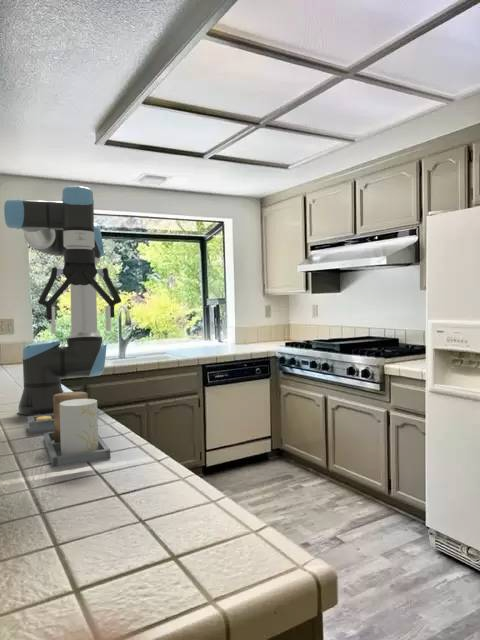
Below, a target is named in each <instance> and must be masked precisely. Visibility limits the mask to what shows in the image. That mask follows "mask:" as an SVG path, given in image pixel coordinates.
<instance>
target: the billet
mask: <svg viewBox="0 0 480 640" xmlns="http://www.w3.org/2000/svg"><path fill="white" fill-rule="evenodd" d="M88 397H89V396H88V392H85V391H68V392H64V393H59V394H56V395H54V396H53V404H54V413H53V414H54V431H53V432H54V439H53V440H54V443H59V442H61V439H60V403H61V402H63V401H67V400H74V399H89V398H88Z"/></svg>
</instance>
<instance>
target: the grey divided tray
mask: <svg viewBox="0 0 480 640" xmlns="http://www.w3.org/2000/svg"><path fill="white" fill-rule="evenodd" d="M52 440H55V439H54V431H51V432H43V442H44V444H45V447H46V451H47V453H48V457H49V459H50V460H49V461H50V462H51V466H52V468H58V467H62V466H68V465H75V464H82V463H87V462H94V461H100V460H101V461H102V460H106V459H107V460H108V459H111V449H110V448H109V446H108V445H107V444H106V443H105V441H104V440H103V439H102V437H101V436H100V435H99V434H98V450H97V451H90V452H84V453H77V454H70V455H64V456H61V442H59V443H55V442H53V441H52Z"/></svg>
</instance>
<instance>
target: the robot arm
mask: <svg viewBox="0 0 480 640" xmlns="http://www.w3.org/2000/svg"><path fill="white" fill-rule="evenodd" d="M93 193H94V192H93V190H92V189H91V188H89V187H85V186H80V185H71V186H70V185H68V186H65V187H64V188H63V189H62V195H61V196H62V197H61V201H57V200H53V201H51V200H34V199H21V198H18V199H17V198H16V199H7V200H5V201H4V205H3V206H4V207H3V211H4V223H5V225H6V227H7V228H9V229H16V230H20V229H21V230H22V232H23V234H24V235H23V236H24V239H25V242H26V243H27V244H28V245H29V246H30V247H31V248H33V249H34V250H36V251H38V252H41V253H42V254H43V253H44V254H47V255H50V256H60V257H63V262H64V263H63V264H64V265H63V266H64V267H62V268H58V267H56V266H54V267H52V268H51V270H50V277H49V278H48V281H47V282H46V284H45V287H44V288H43V291H41V295H40V296H39V299H38V301H37V303H38V304H39V305H42V306H44V307H45V317H46V320H49V321H50V323H51V324H50V326H51V333H52V334H56V331H57V329H56V306H53V304H55V302H57V300H58V299H59V297H61V295H62V294H64V292H65V291H66V290H67V289H68V287H69V286H70V287H69V288H70V322H71V323H70V327H71V328H70V329H71V333H70V334H69V335H68V336H67V338H66V343H61V340H60V339H51V340H44V341H39V342H33V343H28V344H27V345H25V346H23V349H22V367H23V368H22V372H23V373H22V374H23V375H22V377H23V379H22V380H23V390H22V394H21V397H20V401H19V404H18V414H20V415H24V416H38V415H47V414H54V404H53V396H54V395H56V394H59V393H65V392H64V390H63V387H62V379H70V378H73V379H74V378H90V377H98V376H101V375H103V373H104V372H105V371H104V370H105V365H106V358H107V357H106V355H107V343H108V342H105V341H103V336H102V335H101V334H99V331H98V313H97V312H98V310H97V309H98V308H97V306H98V305H97V293H98V295H100V296H101V298H102V299H103V300H104V301H105V302H106V304H107V305H105V306H104V308H105V330H106V331H107V332H108V331H109V332H110V331H112V328H111V327H112V326H111V325H112V324H111V319H112V318H114V317H115V305H118V304H120V303H121V302H122V299H121V297H120V294H119V293H118V291H117V289H116V288H115V286H114V284H113V281H112V279H111V278H110V274H109V269H108V268H107V267H104V268H99V269H98V268H96V266H97V265H98V263H100V262H101V257H103V256H105V255H104V254H105V251H104V244H103V236H102V232H101V227H100V226H99V225H98V223H97V224H96V223H95V220H94V218H95V210H94V209H95V207H94V206H95V205H94V204H95V200H94V194H93ZM61 274H62V275H63V276H64V277H65V278H66V279H65V280H64V282H62V284H61V285H60V286H59V287H58V289H57V290H55V292H54V293H53V295H51V296H50V298H49V299H48V300H47V297H48V296H49V293H50V291H51V289H52V288H53V285H54V283H55V281H56V279H57V277H60V275H61ZM97 274H98V275H99V277H100V278H102V280H103V282H104V283H105V285H106V287H107V289H108V291H109V292H110V295H111V297H112V298H113V299H112V298H111V297H110V295H108V293H107V292H106V291H105V290H104V288H103V287H101V286H100V285H99V283H98V282H97Z"/></svg>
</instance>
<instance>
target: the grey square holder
mask: <svg viewBox="0 0 480 640" xmlns="http://www.w3.org/2000/svg"><path fill="white" fill-rule="evenodd" d="M43 416H51V417H52V419H47V420H38V421H36V418H38V417H43ZM27 430H28V434H29V435H33V434H39V433H40V434H44V433H48V432H54V413H48V414H38V415H28V416H27Z"/></svg>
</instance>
